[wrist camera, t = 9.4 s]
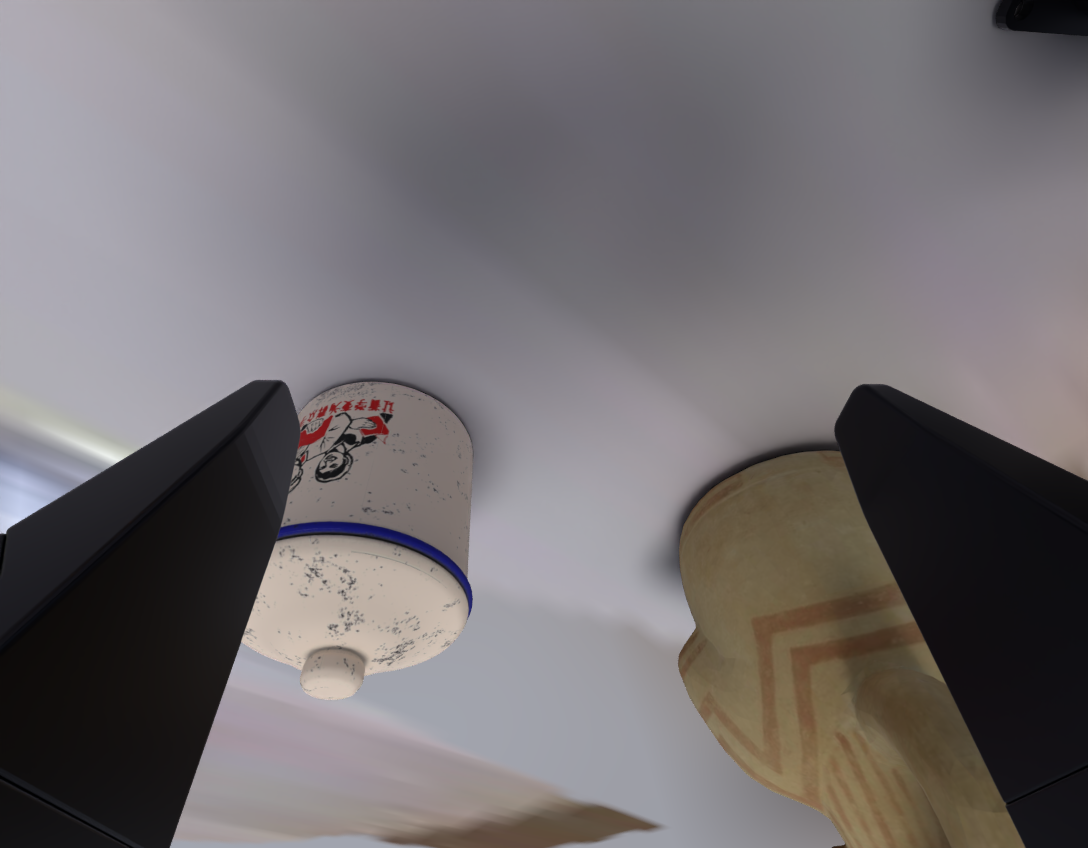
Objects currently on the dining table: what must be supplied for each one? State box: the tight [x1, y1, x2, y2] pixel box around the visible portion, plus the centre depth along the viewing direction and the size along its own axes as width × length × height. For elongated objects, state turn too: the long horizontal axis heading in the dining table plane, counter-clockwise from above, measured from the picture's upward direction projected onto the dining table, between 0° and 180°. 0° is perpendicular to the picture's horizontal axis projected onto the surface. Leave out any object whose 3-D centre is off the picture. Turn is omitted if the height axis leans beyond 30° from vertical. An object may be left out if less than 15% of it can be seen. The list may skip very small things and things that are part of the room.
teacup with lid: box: [241, 382, 473, 700], centre depth 22 cm, size 12×9×12 cm
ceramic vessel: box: [678, 451, 1025, 848], centre depth 22 cm, size 17×20×25 cm
